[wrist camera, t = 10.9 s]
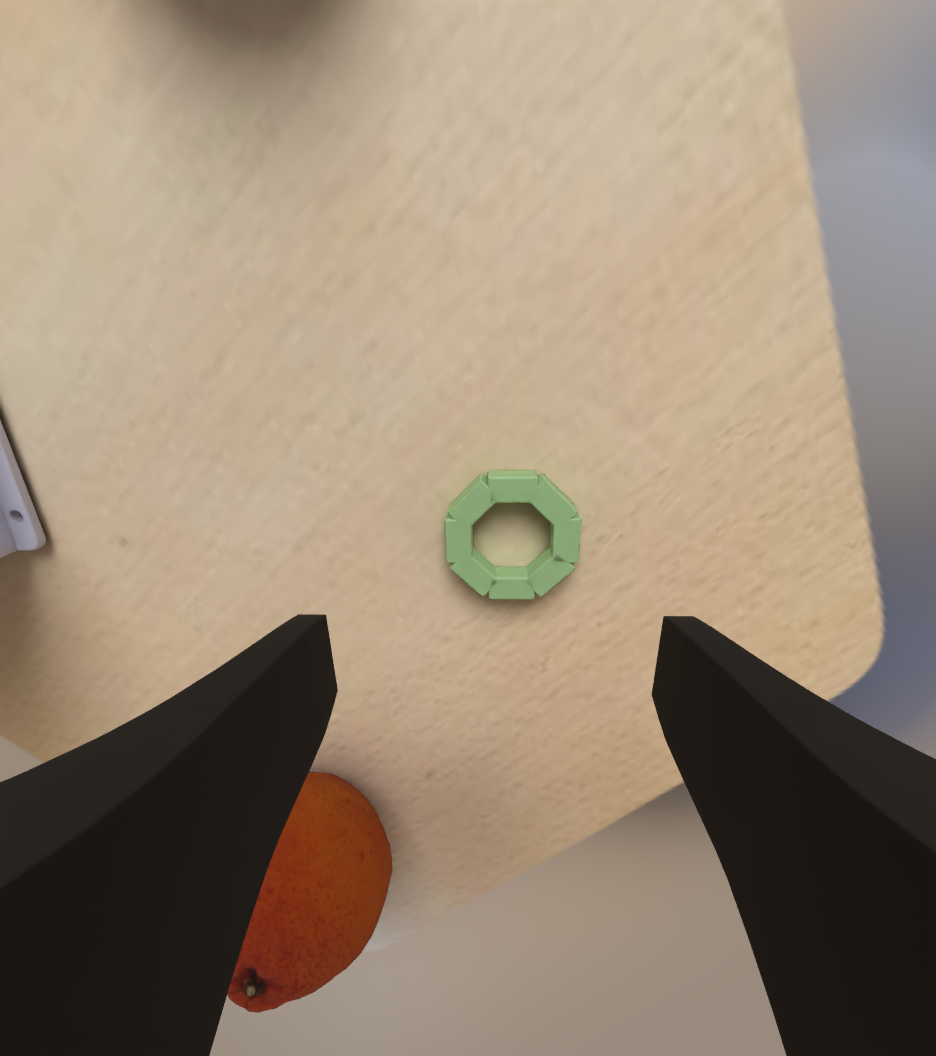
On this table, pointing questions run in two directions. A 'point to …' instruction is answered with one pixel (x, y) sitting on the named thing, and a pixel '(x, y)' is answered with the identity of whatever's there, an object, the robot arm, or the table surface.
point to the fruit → (314, 896)
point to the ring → (512, 579)
